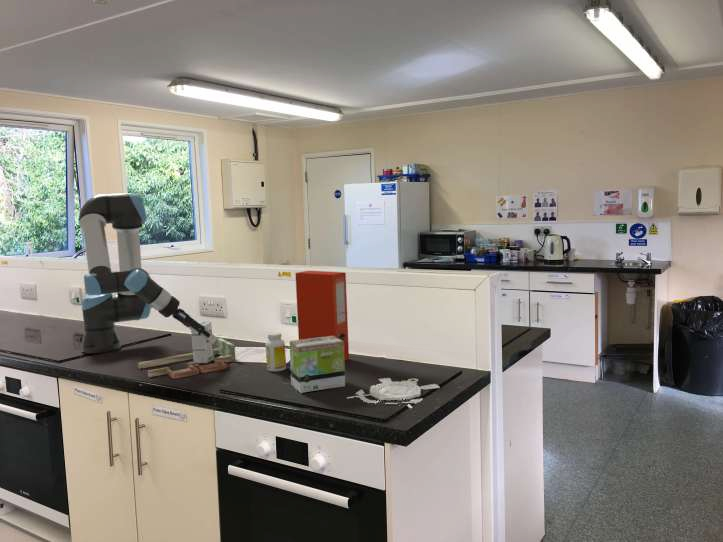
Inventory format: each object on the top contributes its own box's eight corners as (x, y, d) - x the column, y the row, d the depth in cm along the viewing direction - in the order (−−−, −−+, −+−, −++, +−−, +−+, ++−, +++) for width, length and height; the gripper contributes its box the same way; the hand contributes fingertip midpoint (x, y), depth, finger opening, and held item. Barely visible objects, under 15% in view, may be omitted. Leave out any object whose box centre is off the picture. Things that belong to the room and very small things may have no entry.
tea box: (300, 394, 182) (297, 347, 180) (290, 385, 191) (288, 340, 189) (346, 386, 188) (344, 340, 186) (335, 378, 197) (332, 334, 195)
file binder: (313, 353, 230) (309, 270, 226) (349, 358, 220) (345, 272, 216) (299, 358, 224) (294, 272, 220) (335, 364, 213) (331, 275, 209)
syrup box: (207, 363, 222) (205, 324, 220) (193, 363, 223) (190, 324, 221) (214, 359, 228) (212, 321, 226) (200, 358, 229) (197, 321, 227)
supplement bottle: (289, 367, 212) (287, 331, 210) (281, 372, 206) (278, 336, 204) (272, 366, 214) (270, 331, 213) (263, 371, 208) (261, 335, 206)
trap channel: (138, 368, 220) (137, 351, 219) (221, 352, 237) (220, 337, 236) (155, 382, 200) (153, 365, 200) (244, 364, 218) (243, 348, 217)
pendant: (340, 403, 174) (340, 398, 174) (386, 376, 198) (385, 372, 198) (406, 414, 163) (406, 409, 163) (446, 384, 187) (446, 380, 187)
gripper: (149, 307, 224) (192, 340, 235) (167, 316, 204) (214, 352, 215) (162, 291, 227) (205, 325, 237) (181, 298, 207) (227, 335, 217)
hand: (209, 338), depth 226 cm, fingers open, 11 cm apart
